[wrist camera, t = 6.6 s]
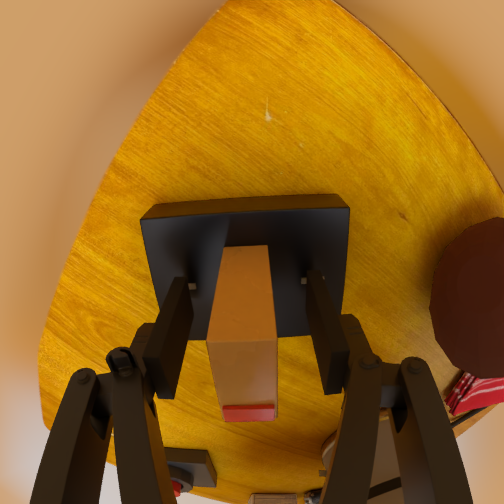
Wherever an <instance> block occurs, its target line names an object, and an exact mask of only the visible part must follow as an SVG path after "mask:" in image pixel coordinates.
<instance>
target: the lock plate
mask: <svg viewBox="0 0 504 504" xmlns="http://www.w3.org/2000/svg"><path fill="white" fill-rule="evenodd" d="M349 217H350V207H349V206H348V205H347V204H346V203H345V202H344V201H343V200H342V199H341V198H340V197H339V196H338V195H337V194H310V195H283V196H262V197H244V198H228V199H214V200H201V201H188V202H176V203H165V204H155V205H153V206H152V207H151V208H150V209H149V210H148V211H147V212H146V213H145V214H144V215H143V217H142V218H141V219H140V225H141V230H142V235H143V240H144V245H145V250H146V255H147V259H148V264H149V268H150V273H151V277H152V281H153V285H154V290H155V294H156V298H157V302H158V306H159V309H161V307H162V305H163V302H164V300H165V297H166V295H167V293H168V290H169V288H170V286H171V283H172V281H173V278H174V277H181V276H187V279H188V285H189V290H190V296H191V301H192V306H193V312H194V318H193V322H192V326H191V330H190V334H189V338H188V340H206V339H207V333H208V328H209V322H210V317H211V311H212V306H213V300H214V295H215V290H216V284H217V279H218V274H219V269H220V264H221V258H222V253H223V248H224V247H239V246H258V245H267V246H268V253H269V263H270V272H271V281H272V290H273V300H274V310H275V319H276V329H277V338H279V337H294V336H307V335H311V332H310V328H309V324H308V320H307V315H306V311H305V306H306V281H307V271H309V270H320V271H321V273H322V276H323V278H324V281H325V284H326V286H327V289H328V291H329V294H330V296H331V299H332V302H333V304H334V307H335V310H336V312H337V315H341V310H342V302H343V293H344V283H345V273H346V261H347V249H348V234H349Z"/></svg>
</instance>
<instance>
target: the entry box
mask: <svg viewBox="0 0 504 504" xmlns="http://www.w3.org/2000/svg"><path fill="white" fill-rule="evenodd" d="M164 451H165V456H166V460H167V465H168V469H169V473H170V477H171V480H173V481H176V482H178V483H180V484H181V493H183V492H189V491H190V490H192V489H193V486H198V487H216V484H217V474H216V472H215V470H214V467H213V465H212V462H211V460H210V457H209V455H208V452H207V450H190V449H176V448H166V447H164Z"/></svg>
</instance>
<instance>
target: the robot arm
mask: <svg viewBox="0 0 504 504" xmlns="http://www.w3.org/2000/svg"><path fill="white" fill-rule="evenodd" d="M305 311H306V315H307V320H308V324H309V328H310V332H311V337H312V341H313V345H314V350H315V354H316V358H317V363H318V367H319V372H320V376H321V381H322V385H323V390H324V395H331V394H339V393H341V392H342V387H343V388H344V392H345V395H344V399H343V403H342V407H341V409H342V410H341V415H340V420H339V425H338V429H337V431H336V432H334V433H333V434H332V435H331V436H330V437H329V438H328V439H327V440H326V441H325V442H324V444H323V446H322V448H321V455H322V462H323V465H324V467H325V469H326V470H319V476H325V477H326V479H325V482H324V486H323V490H322V493H321V497H320V500H319V503H318V504H473V500H472V496H471V492H470V488H469V484H468V480H467V476H466V472H465V469H464V465H463V462H462V458H461V455H460V452H459V448H458V445H457V442H456V439H455V436H454V433H453V430H452V428H453V427H455V426H456V425H458V424H460V423H461V422H463V421H465V420H467V419H468V418H470V417H472V416H473V415H475V414H477V413H478V412H480V411H482V410H483V409H485V408H487V407H488V406H486V407H482V408H477V409H475V410H473V411H471V412H470V413H468V414H466V415H465V416H463V417H461V418H459V419H457V420H456V421H454V422H452V423H451V424H450V421H449V418H448V415H447V412H446V410H445V407H444V404H443V401H442V399H441V396H440V394H439V391H438V388H437V386H436V383H435V381H434V378H433V376H432V373H431V371H430V368H429V366H428V364H427V363H426V361H424V360H423V359H421V358H418V357H407V358H405V359H404V360H402V362H401V364H391V363H385V362H382V360H381V359H380V357H379V356H377V355H375V354H373V352H372V350H371V348H370V345H369V343H368V341H367V338H366V336H365V334H364V331H363V329H362V328H361V325H360V322H359V320H358V319H357V318H356V317H355V316H354V315H352V314H343V315H337V312H336V310H335V307H334V304H333V302H332V299H331V296H330V294H329V291H328V289H327V286H326V284H325V281H324V278H323V276H322V273H321V271H320V270H309V271H307V281H306V306H305ZM193 318H194V312H193V306H192V301H191V296H190V290H189V285H188V279H187V276H181V277H174V278H173V281H172V283H171V286H170V288H169V290H168V293H167V295H166V297H165V300H164V302H163V305H162V307H161V309H160V312H159V314H158V317H157V319H156V322H155V323H144V324H143V325H142V326H141V327H139V328H138V330H137V332H136V334H135V337H134V339H133V341H132V343H131V346H130V348H128V347H118V348H115V349H113V350H112V351H110V352H109V353H108V354H107V356H106V359H105V360H106V362H107V364H108V366H109V368H110V370H111V372H110V373H105V374H99V375H96V373H95V371H94V370H92V369H90V368H82V369H79V370H77V371H76V372H75V373H73V375H72V376H71V378H70V381H69V383H68V386H67V388H66V391H65V393H64V396H63V398H62V401H61V404H60V406H59V409H58V412H57V414H56V417H55V420H54V423H53V426H52V428H51V431H50V435H49V438H48V440H47V443H46V446H45V450H44V453H43V456H42V459H41V463H40V466H39V469H38V473H37V476H36V480H35V484H34V488H33V491H32V496H31V500H30V504H99V498H100V491H101V485H102V479H103V474H104V468H105V463H106V458H107V452H108V447H109V442H110V438H111V433H112V428H113V430H114V443H115V455H116V465H117V474H118V481H119V489H120V496H121V502H122V504H177V500H176V497H175V493H174V489H173V485H172V481H171V477H170V473H169V469H168V465H167V460H166V456H165V451H164V447H163V442H162V437H161V432H160V427H159V421H158V416H157V410H156V404H155V402H154V400H153V397H154V394H155V392H156V394H157V397H158V399H174V397H175V393H176V388H177V384H178V380H179V375H180V371H181V367H182V363H183V358H184V354H185V350H186V346H187V342H188V338H189V334H190V330H191V326H192V322H193ZM380 407H386V408H385V409H382V410H380Z"/></svg>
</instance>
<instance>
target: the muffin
mask: <svg viewBox="0 0 504 504" xmlns="http://www.w3.org/2000/svg"><path fill="white" fill-rule="evenodd" d="M429 310H430V314H431V319H432V324H433V329H434V334H435V339H436V341H437V342H438V344H439V345H440V347H441V348H442V349H443V351H444V352H445V354H446V355H447V357H448V358H449V360H450V361H451V363H452V364H453V365H454V366H456V367H458V368H459V369H461V370H463V371H465V372H467V373H469V374H471V375H473V376H475V377H477V378H479V379H492V378H503V377H504V218H500V217H496V218H493V219H490V220H487V221H484V222H481V223H478V224H476V225H473V226H470V227H469V228H467V229H466V230H465V231H463V232H462V233H461V234H460V235H459V236H458V237H457V238H456V239H455V240H454V241H453V242H452V243H450V244H449V245H448V246H447V247H446V249H445V251H444V253H443V256H442V258H441V260H440V262H439V264H438V266H437V268H436V270H435V272H434V276H433V284H432V292H431V299H430V305H429Z"/></svg>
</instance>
